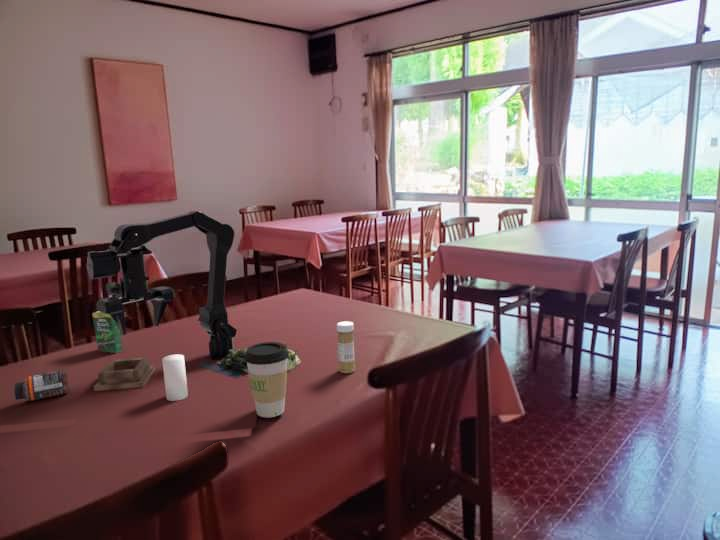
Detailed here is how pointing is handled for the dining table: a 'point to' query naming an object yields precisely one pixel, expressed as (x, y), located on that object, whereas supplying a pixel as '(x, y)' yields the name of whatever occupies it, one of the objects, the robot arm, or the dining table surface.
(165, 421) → the dining table surface
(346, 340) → the sprinkles bottle
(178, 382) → the white tapered cylinder
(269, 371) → the coffee cup
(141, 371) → the holder
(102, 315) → the coffee box
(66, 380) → the supplement bottle
